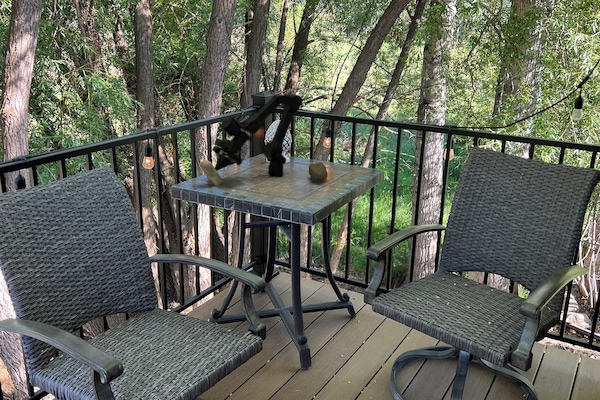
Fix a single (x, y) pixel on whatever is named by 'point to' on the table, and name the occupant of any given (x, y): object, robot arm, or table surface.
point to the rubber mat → (228, 183)
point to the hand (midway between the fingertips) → (215, 170)
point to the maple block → (210, 172)
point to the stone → (318, 171)
